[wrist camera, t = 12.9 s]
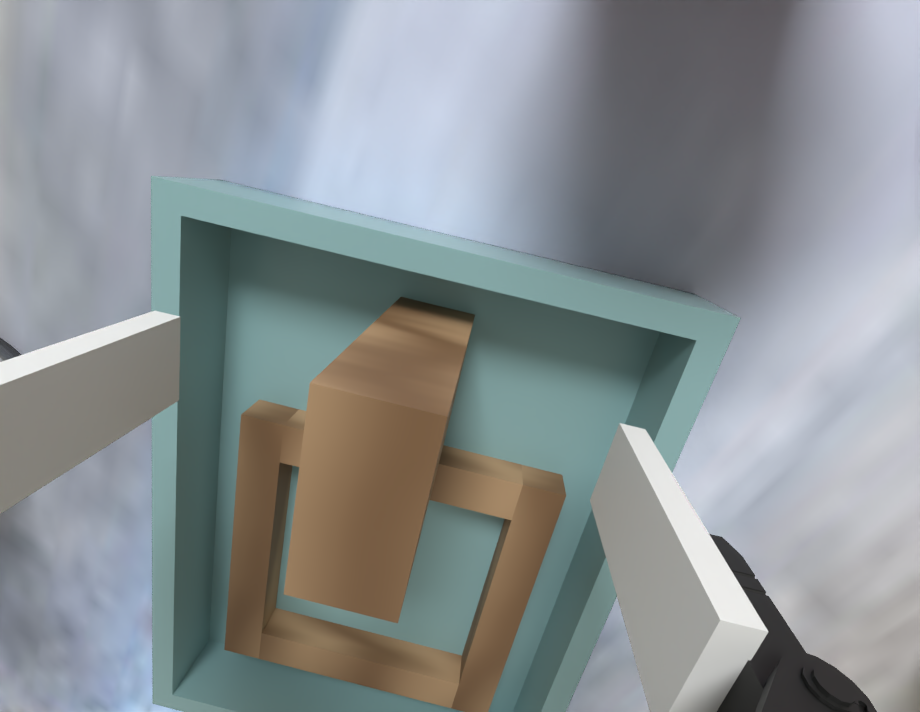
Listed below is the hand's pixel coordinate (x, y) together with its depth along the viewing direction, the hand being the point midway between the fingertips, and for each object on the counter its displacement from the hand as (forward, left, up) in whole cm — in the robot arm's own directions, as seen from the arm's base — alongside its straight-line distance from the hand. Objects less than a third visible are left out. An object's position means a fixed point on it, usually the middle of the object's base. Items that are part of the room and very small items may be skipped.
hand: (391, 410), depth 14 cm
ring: (0, -8, -5) cm, 10 cm away
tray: (0, -8, -6) cm, 10 cm away
